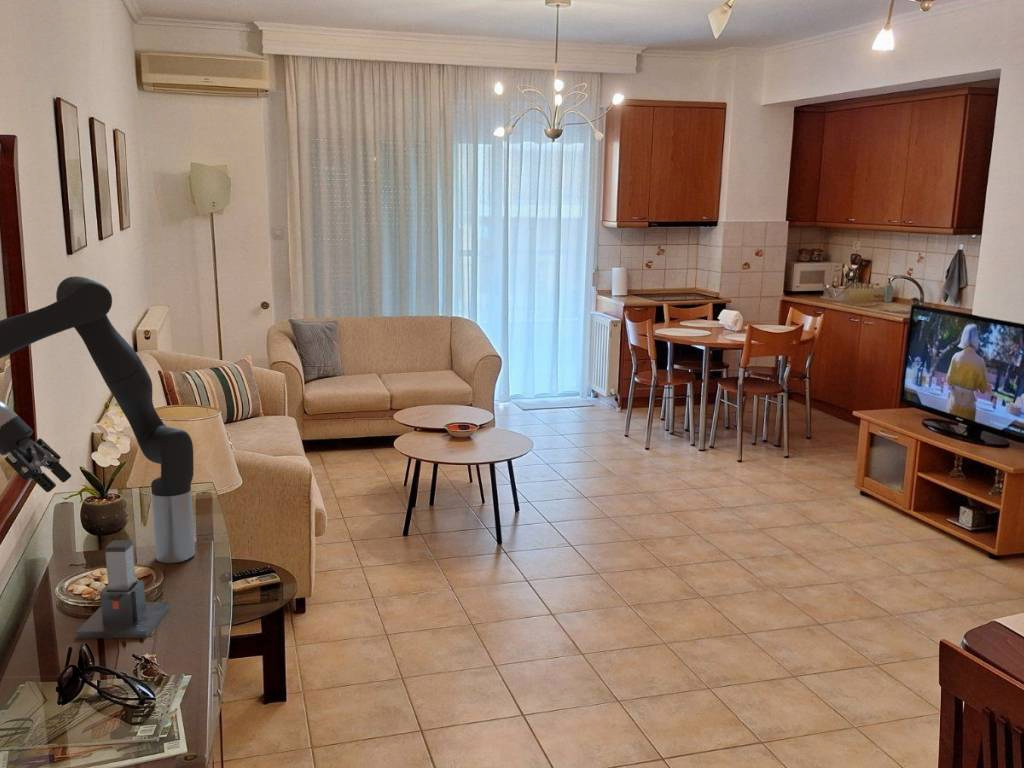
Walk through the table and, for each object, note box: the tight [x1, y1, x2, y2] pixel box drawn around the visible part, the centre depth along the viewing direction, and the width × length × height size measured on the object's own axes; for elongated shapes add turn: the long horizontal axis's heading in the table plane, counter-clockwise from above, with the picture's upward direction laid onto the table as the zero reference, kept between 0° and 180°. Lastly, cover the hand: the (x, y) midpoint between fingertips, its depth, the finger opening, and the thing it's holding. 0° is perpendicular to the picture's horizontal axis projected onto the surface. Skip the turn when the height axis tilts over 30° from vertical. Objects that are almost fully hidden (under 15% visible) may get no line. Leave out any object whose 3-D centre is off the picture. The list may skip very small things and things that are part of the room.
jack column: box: [104, 539, 136, 592], centre depth 189 cm, size 4×4×16 cm
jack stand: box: [75, 579, 171, 640], centre depth 190 cm, size 14×14×8 cm
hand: (60, 484), depth 187 cm, fingers open, 8 cm apart
